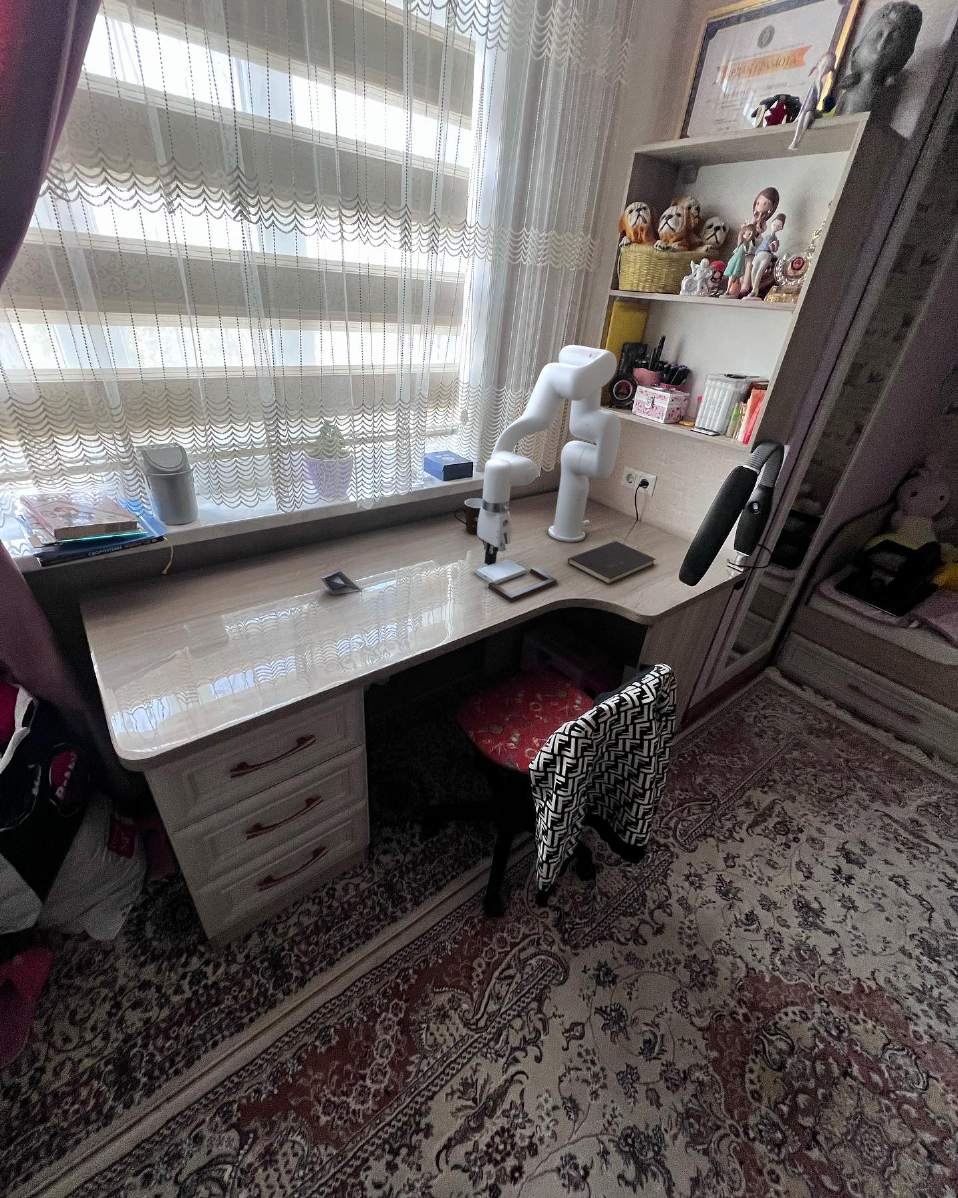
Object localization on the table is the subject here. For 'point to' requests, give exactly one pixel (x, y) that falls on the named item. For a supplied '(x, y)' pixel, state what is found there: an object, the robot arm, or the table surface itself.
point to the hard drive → (500, 571)
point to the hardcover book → (611, 562)
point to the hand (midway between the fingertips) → (490, 563)
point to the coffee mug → (471, 514)
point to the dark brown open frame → (527, 591)
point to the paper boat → (339, 583)
